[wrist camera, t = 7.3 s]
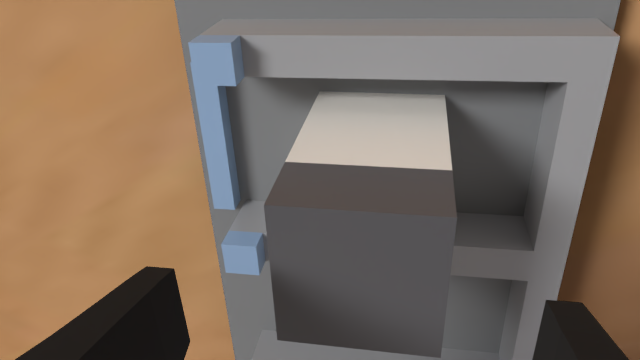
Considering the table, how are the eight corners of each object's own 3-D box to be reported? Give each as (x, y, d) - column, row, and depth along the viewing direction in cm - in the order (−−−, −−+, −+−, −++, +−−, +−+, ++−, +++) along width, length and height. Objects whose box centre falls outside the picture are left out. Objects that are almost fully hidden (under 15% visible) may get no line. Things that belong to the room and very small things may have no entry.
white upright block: (435, 202, 18) (440, 357, 12) (323, 196, 19) (277, 340, 13) (444, 95, 16) (456, 217, 10) (319, 91, 17) (263, 204, 11)
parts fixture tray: (506, 472, 26) (516, 547, 23) (253, 437, 28) (233, 502, 25) (617, -18, 15) (664, 7, 12) (180, -12, 17) (129, 10, 14)
